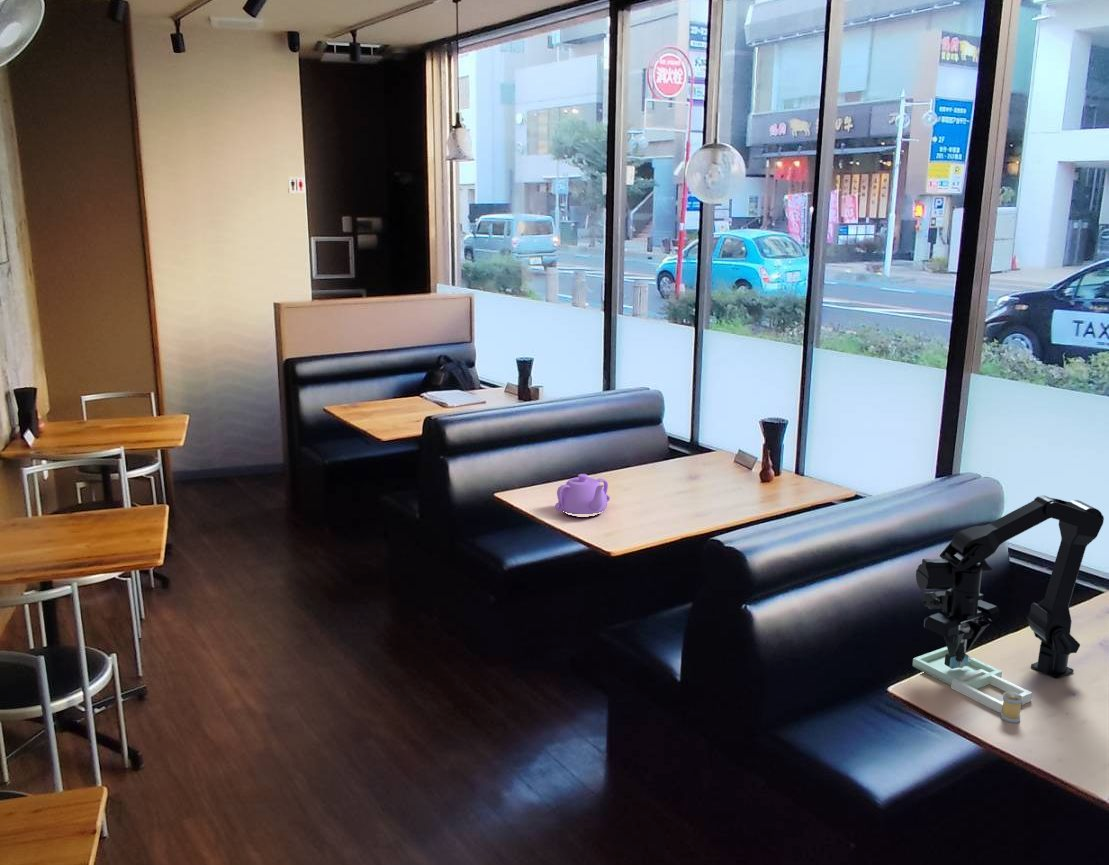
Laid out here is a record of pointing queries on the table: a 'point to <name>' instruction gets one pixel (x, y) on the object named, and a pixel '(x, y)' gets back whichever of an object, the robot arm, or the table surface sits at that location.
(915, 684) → the table surface
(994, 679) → the pale rectangular frame
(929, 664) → the parts tray
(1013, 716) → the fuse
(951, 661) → the push button
